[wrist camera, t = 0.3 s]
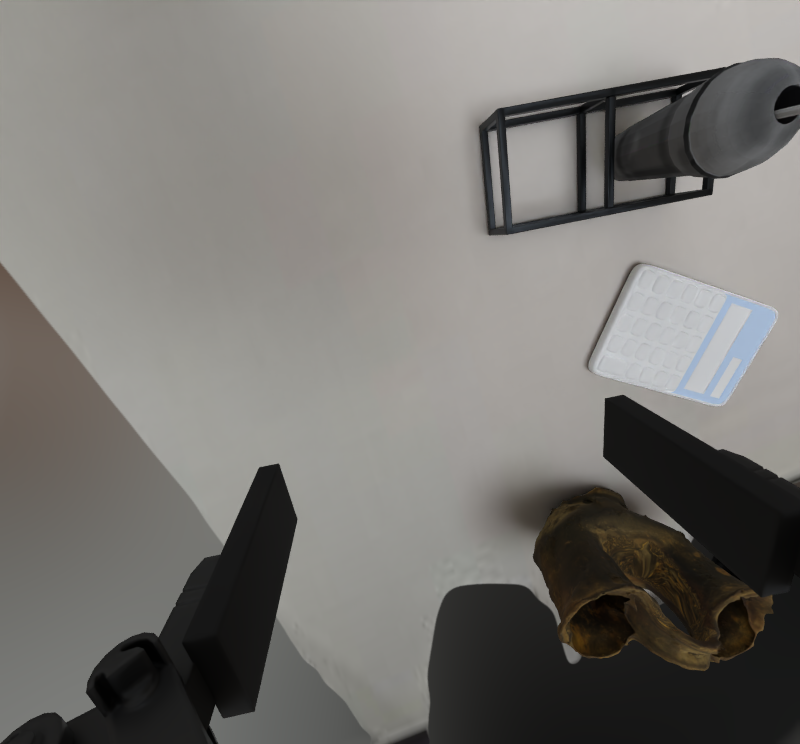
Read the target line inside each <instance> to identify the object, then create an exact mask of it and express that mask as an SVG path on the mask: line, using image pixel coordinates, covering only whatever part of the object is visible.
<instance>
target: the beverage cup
mask: <svg viewBox="0 0 800 744" xmlns="http://www.w3.org/2000/svg"><path fill="white" fill-rule="evenodd" d="M799 129H800V67H799V66H797V65H796V64H794V63H791V62H789V61H786V60H783V59H780V58H767V59H755V60H750V61H746V62H744V63H736V64H733V65H731V66H728V67H726V68H724V69H722V70H719V71H718V72H717V73H716V74H715V75H713V76H712V77H711V78H709V79H708V80H707V81H705V82H704V83H702V84H701V85H700V86H698V87H697V88H696V89H695V90H693V91H692V92H691V93H689V94H688V95H686V96H684V97H682V98H681V99H679V100H677V101H675V102H673V103H672V104H670V105H668V106H666V107H665V108H663V109H661V110H659V111H658V112H656V113H654V114H652V115H650V116H649V117H647V118H645V119H643V120H642V121H640V122H638V123H636V124H634V125H633V126H631V127H629V128H628V129H627V130H625V131H624V132H622V133H620V134H618V135H617V136H616V137H615V162H614V179H615V180H618V181H626V180H628V181H634V180H646V179H657V178H668V177H680V176H693V177H709V178H712V179H717V178H728V177H730V176H732V175H734V174H737V173H740V172H742V171H745V170H747V169H749V168H752V167H754V166H756V165H758V164H761V163H763V162H764V161H766V160H768V159H769V158H770V157H772V156H773V155H774V154H775V153H777V152H778V151H779V150H780V149H782V148H783V147H784V146H785V145H786V144H788V142H789V141H790V140H791V139H792V138H793V136H794V135H795V134H796V133H797V131H798V130H799Z"/></svg>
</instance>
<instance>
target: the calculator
mask: <svg viewBox="0 0 800 744" xmlns="http://www.w3.org/2000/svg"><path fill="white" fill-rule="evenodd" d="M777 318H778V311H777V310H776V309H775V308H773V307H771V306H768V305H766V304H763V303H760V302H757V301H754V300H751V299H748V298H745V297H743V296H740V295H737V294H734V293H731V292H728V291H725V290H722V289H719V288H717V287H714V286H711V285H708V284H705V283H702V282H699V281H696V280H693V279H691V278H688V277H685V276H682V275H679V274H676V273H673V272H670V271H668V270H665V269H662V268H659V267H656V266H653V265H649V264H639V265H636V266H635V267H634V268H633V270H632V271H631V273H630V275H629V276H628V278H627V281H626V283H625V285H624V287H623V289H622V291H621V293H620V295H619V298H618V300H617V302H616V304H615V306H614V308H613V310H612V313H611V315H610V317H609V319H608V321H607V323H606V325H605V328H604V330H603V332H602V334H601V336H600V338H599V340H598V342H597V345H596V347H595V349H594V351H593V353H592V355H591V358H590V360H589V364H588V368H589V370H590V371H591V372H593V373H594V374H597V375H600V376H603V377H607V378H610V379H614V380H618V381H621V382H625V383H629V384H632V385H636V386H640V387H643V388H647V389H651V390H654V391H658V392H662V393H665V394H669V395H673V396H676V397H680V398H684V399H688V400H691V401H695V402H699V403H702V404H706V405H710V406H722V405H724V404H725V403H726V402H727V401H728V399H729V398H730V396H731V395H732V393H733V392H734V390H735V388H736V387H737V385H738V383H739V382H740V380H741V378H742V377H743V375H744V373H745V372H746V370H747V369H748V367H749V365H750V364H751V362H752V360H753V359H754V357H755V355H756V354H757V352H758V351H759V349H760V347H761V346H762V344H763V342H764V341H765V339H766V337H767V336H768V334H769V332H770V331H771V329H772V327H773V326H774V324H775V322H776V320H777Z"/></svg>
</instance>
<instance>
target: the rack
mask: <svg viewBox="0 0 800 744" xmlns="http://www.w3.org/2000/svg"><path fill="white" fill-rule="evenodd" d="M724 68H726V67H723V68H718V69H712V70H707V71H701V72H696V73H690V74H685V75H679V76H674V77H668V78H663V79H658V80H652V81H647V82H641V83H636V84H630V85H625V86H619V87H614V88H608V89H603V90H598V91H592V92H587V93H581V94H576V95H570V96H565V97H559V98H554V99H548V100H543V101H538V102H532V103H527V104H521V105H516V106H510V107H505V108H499V109H497V110H496V111H495V112H494V113H493V114H492V115H491V116H490V117H489V118H488V119H487V120H486V121H485V122H484V123H482V124H481V125H480V126H479V128H480V139H481V150H482V161H483V173H484V184H485V195H486V206H487V217H488V228H489V235H508V234H513V233H519V232H524V231H529V230H534V229H539V228H544V227H549V226H554V225H560V224H565V223H570V222H575V221H580V220H585V219H590V218H595V217H601V216H606V215H611V214H616V213H621V212H626V211H631V210H636V209H642V208H647V207H652V206H657V205H662V204H667V203H672V202H677V201H683V200H688V199H693V198H698V197H703V196H708V195H712V192H713V183H714V179H712V178H709V177H703V185H702V190H695V191H688V192H681V193H675V183H676V177H668V178H667V181H666V195H663V196H658V197H653V198H648V199H643V200H638V201H633V202H627V203H622V204H617V205H614V162H615V112H616V108H619V107H624V106H629V105H635V104H640V103H646V102H651V101H656V100H662V99H667V98H672V103H673V102H675V101H677V100H679V99H681V98H682V94H684V93H687V92H689V91H691V90H693V89H695V88H697V87H698V86H700V85H701V84H702V83H704V82H705V81H707V80H708V79H709V78H711V77H712V76H713V75H715V74H716V73H717V72H718V71H719V70H722V69H724ZM683 84H685V85H683ZM677 85H683V86H681V87H679V88H677V89H671V90H666V91H660V92H655V93H650V94H644V95H639V96H633V97H628V98H623V99H617V100H616V97H617V96H623V95H628V94H634V93H639V92H645V91H650V90H655V89H661V88H666V87H672V86H677ZM585 102H586V103H585ZM580 103H585V104H583V105H582V106H579V107H574V108H568V109H563V110H558V111H552V112H547V113H541V114H536V115H530V116H525V117H520V118H514V119H509V120H505V117H509V116H514V115H520V114H525V113H531V112H536V111H542V110H547V109H552V108H558V107H563V106H569V105H574V104H580ZM602 110H605V179H604V207H602V208H596V209H591V210H586V113H592V112H597V111H602ZM575 115H577V181H578V212H576V213H571V214H566V215H560V216H555V217H550V218H545V219H540V220H535V221H530V222H524V223H519V224H514V225H512V212H511V198H510V183H509V169H508V154H507V140H506V128H511V127H516V126H522V125H527V124H532V123H538V122H543V121H548V120H554V119H559V118H565V117H570V116H575ZM495 130H497V140H498V153H499V166H500V179H501V193H502V206H503V219H504V227H499V228H496V226H495V214H494V202H493V190H492V178H491V166H490V154H489V142H488V132H489V131H495Z"/></svg>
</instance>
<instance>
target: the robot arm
mask: <svg viewBox="0 0 800 744" xmlns="http://www.w3.org/2000/svg"><path fill="white" fill-rule="evenodd" d="M603 457H604V458H605V459H606V460H608V461H609V462H610V463H611V464H612V465H613V466H614V467H615V468H616V469H618V470H619V471H620V472H621V473H622V474H623V475H624V476H625V477H627V478H628V479H629V480H630V481H631V482H632V483H633V484H634V485H635V486H637V487H638V488H639V489H640V490H641V491H642V492H643V493H644V494H646V495H647V496H648V497H649V498H650V499H651V500H652V501H653V502H655V503H656V504H657V505H658V506H659V507H660V508H661V509H662V510H663V511H665V512H666V513H667V514H668V515H669V516H670V517H671V518H672V519H674V520H675V521H676V522H677V523H678V524H679V525H680V526H681V527H683V528H684V529H685V530H686V531H687V532H688V533H689V534H690V535H691V536H693V537H694V538H695V539H696V540H697V541H698V542H699V543H701V544H702V545H703V546H704V547H705V548H706V549H707V550H708V551H709V552H711V553H712V554H713V555H714V556H715V557H716V558H717V559H718V560H719V561H721V562H722V563H723V564H724V565H725V566H726V567H727V568H728V569H730V570H731V571H732V572H733V573H734V574H735V575H736V576H737V577H739V578H740V579H741V580H742V581H743V582H744V583H745V584H746V585H747V586H749V587H750V588H751V589H752V590H753V591H754V592H755V593H756V594H758V595H759V596H760V597H761V598H762V597H767V596H771V595H775V594H780V593H784V592H789V590H790V586H791V583H792V579H793V576H794V574H796V575H797V576H798V577H800V488H799V487H797V486H796V485H794V484H792V483H790V482H788V481H787V480H785V479H783V478H779V477H778V476H777V475H776V474H774V473H773V472H771V471H769V470H767V469H763V467H762V466H760V465H758V464H757V463H755V462H753V461H751V460H750V459H748V458H746V457H744V456H741V455H738V454H735V453H732V452H730V451H727V450H724V449H722V450H716V449H714V448H713V447H711V446H709V445H708V444H706V443H704V442H703V441H701V440H699V439H697V438H696V437H694V436H692V435H691V434H689V433H687V432H686V431H684V430H682V429H680V428H679V427H677V426H675V425H674V424H672V423H670V422H669V421H667V420H665V419H664V418H662V417H660V416H658V415H657V414H655V413H653V412H652V411H650V410H648V409H647V408H645V407H643V406H641V405H640V404H638V403H636V402H635V401H633V400H631V399H630V398H628V397H626V396H625V395H620V396H615V397H610V398H605V416H604V448H603ZM296 524H297V517H296V514H295V511H294V508H293V505H292V502H291V499H290V496H289V492H288V489H287V486H286V483H285V480H284V477H283V474H282V471H281V468H280V465H279V464H274V465H269V466H264V467H259V469H258V471H257V474H256V476H255V478H254V480H253V483H252V485H251V487H250V489H249V492H248V494H247V496H246V498H245V501H244V503H243V505H242V507H241V510H240V512H239V514H238V516H237V519H236V521H235V523H234V525H233V528H232V530H231V532H230V534H229V537H228V539H227V541H226V543H225V546H224V548H223V550H222V553H221V555H216V556H211V557H207V558H204V560H203V561H202V562H201V563H200V564H199V565H198V566H197V567H196V569H195V570H194V571H193V572H192V573H191V574H190V577H189V578H188V580H187V582H186V585H185V586H184V588H183V593H181V594H180V596H179V598H178V600H177V602H176V607H174V608H173V610H172V612H171V614H170V616H169V618H168V620H167V622H166V624H165V626H164V628H163V630H162V632H161V634H160V636H159V638H158V637H157V636H156V635H155V634H154V633H145V632H144V633H141V634H138V635H135V636H132V637H130V638H128V639H127V640H125V641H123V642H121V643H120V644H118V645H117V646H116V647H115V648H113V649H112V650H111V651H110V652H109V653H108V654H106V655H105V656H104V658H103V659H102V660H101V661H100V663H99V664H98V665H97V666H96V667H95V668H94V670H93V672H92V674H91V676H90V678H89V680H88V682H87V690H86V693H87V695H88V696H89V697H90V699H91V700H92V701H93V703H94V704H95V706H96V707H95V708H93V709H91V710H90V711H88V712H86V713H84V714H82V715H80V716H78V717H76V718H74V719H72V720H70V721H69V722H67V723H66V722H65V721H64V720H63V719H62V717H60V716H59V715H58V714H57V713H44V714H42V715H40V716H37V717H35V718H33V719H31V720H29V721H27V722H26V723H25V724H23V725H22V726H21V727H19V728H17V729H16V730H15V731H13V732H12V733H11V734H10V735H9V736H8V737H7V738H6V739H5V740H4V741H3V742H2V743H0V744H218V742H217V740H216V737H215V735H214V733H213V731H212V729H211V727H210V726H209V723H210V720H211V716H212V713H213V710H214V707H215V705H216V706H217V708H218V710H219V712H220V713H221V715H222V717H223V718H228V717H232V716H236V715H241V714H245V713H249V712H254V711H255V706H256V703H257V698H258V693H259V689H260V685H261V680H262V675H263V671H264V667H265V662H266V658H267V653H268V649H269V644H270V640H271V635H272V631H273V627H274V622H275V618H276V613H277V609H278V604H279V600H280V595H281V591H282V586H283V582H284V577H285V573H286V569H287V564H288V560H289V555H290V551H291V546H292V542H293V537H294V533H295V528H296Z"/></svg>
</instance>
